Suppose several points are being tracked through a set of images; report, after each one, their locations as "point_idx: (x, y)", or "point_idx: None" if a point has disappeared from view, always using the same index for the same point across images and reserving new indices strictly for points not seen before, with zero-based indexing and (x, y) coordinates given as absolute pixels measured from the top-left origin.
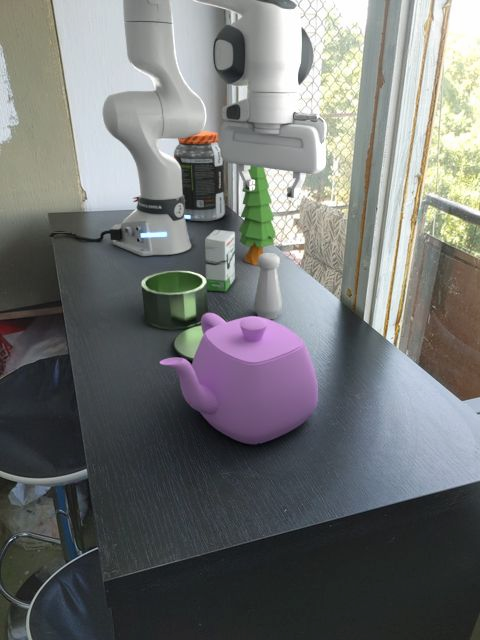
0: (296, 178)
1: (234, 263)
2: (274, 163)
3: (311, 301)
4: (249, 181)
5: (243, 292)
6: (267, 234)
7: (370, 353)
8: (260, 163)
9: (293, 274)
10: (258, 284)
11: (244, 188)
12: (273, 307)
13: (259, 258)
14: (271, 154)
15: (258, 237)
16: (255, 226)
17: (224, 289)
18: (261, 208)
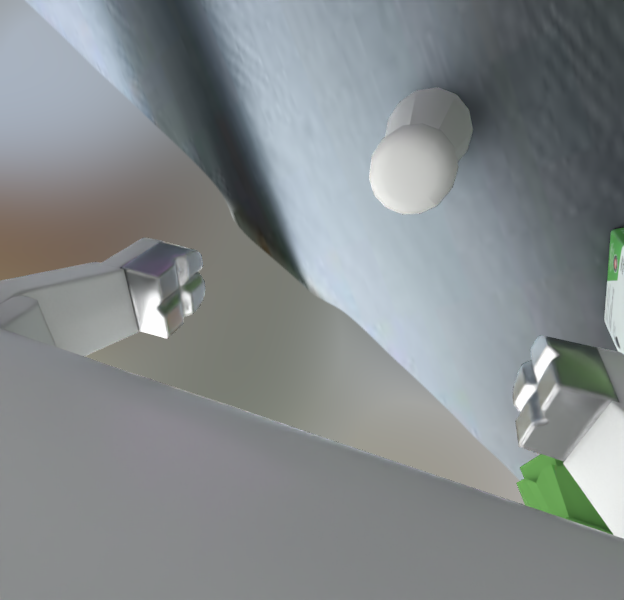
0: (11, 293)
1: (617, 348)
2: (92, 423)
3: (356, 256)
4: (561, 390)
5: (549, 247)
6: (540, 485)
7: (151, 53)
8: (349, 489)
9: (446, 380)
10: (451, 127)
11: (609, 352)
12: (397, 106)
13: (442, 143)
14: (21, 587)
15: (567, 472)
16: (588, 508)
17: (618, 231)
18: None
